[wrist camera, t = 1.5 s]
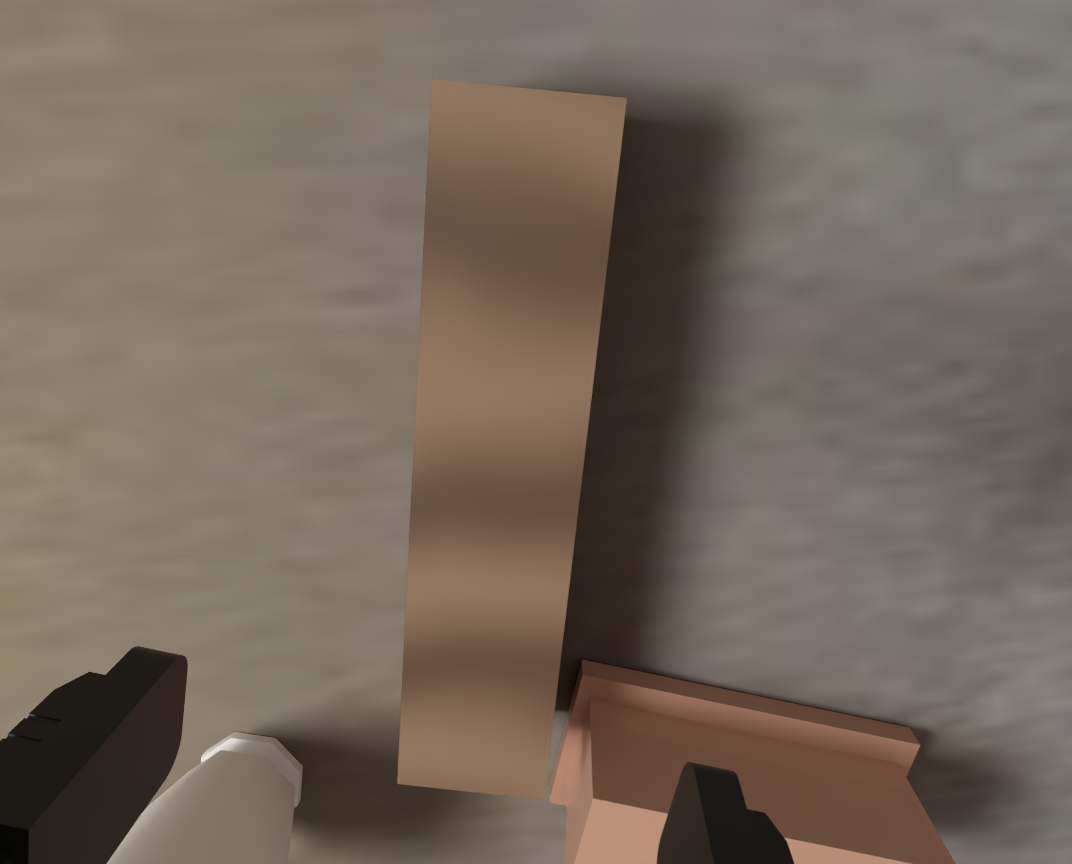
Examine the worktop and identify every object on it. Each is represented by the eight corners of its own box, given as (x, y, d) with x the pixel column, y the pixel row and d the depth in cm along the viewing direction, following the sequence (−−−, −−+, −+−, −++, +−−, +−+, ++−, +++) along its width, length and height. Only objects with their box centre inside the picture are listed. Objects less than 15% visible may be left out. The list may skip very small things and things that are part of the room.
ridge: (582, 659, 30) (584, 769, 24) (909, 727, 30) (988, 852, 25) (549, 784, 32) (544, 913, 26) (858, 847, 32) (921, 990, 26)
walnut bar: (459, 101, 25) (431, 79, 20) (616, 116, 25) (627, 97, 20) (424, 693, 31) (397, 783, 26) (548, 706, 31) (544, 800, 26)
